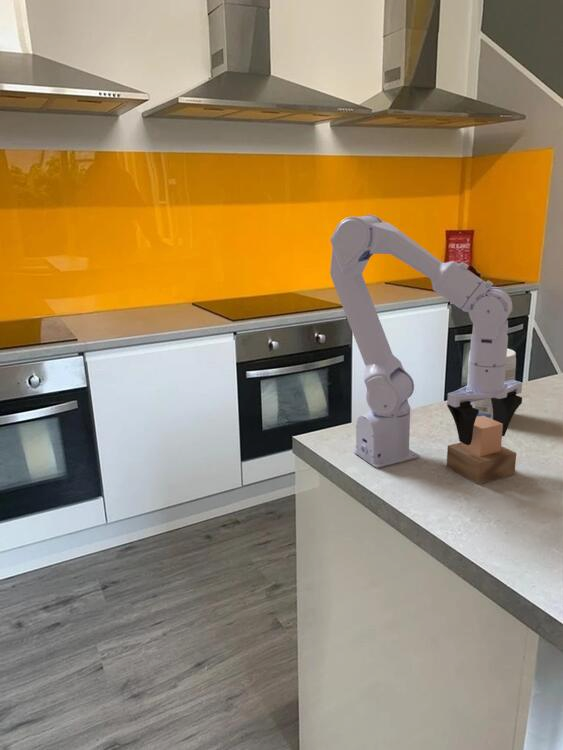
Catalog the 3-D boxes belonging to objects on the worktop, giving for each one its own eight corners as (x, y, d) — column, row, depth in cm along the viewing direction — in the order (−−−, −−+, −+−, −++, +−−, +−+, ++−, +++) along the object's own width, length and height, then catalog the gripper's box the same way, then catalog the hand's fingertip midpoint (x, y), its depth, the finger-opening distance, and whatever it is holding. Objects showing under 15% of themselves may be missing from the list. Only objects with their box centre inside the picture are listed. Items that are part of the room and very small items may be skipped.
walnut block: (478, 484, 97) (480, 462, 96) (446, 466, 104) (447, 445, 103) (514, 474, 100) (516, 452, 99) (481, 457, 107) (482, 437, 106)
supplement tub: (501, 408, 132) (506, 345, 127) (519, 423, 122) (525, 355, 118) (458, 410, 131) (462, 347, 127) (474, 426, 122) (478, 358, 118)
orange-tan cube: (480, 456, 98) (482, 428, 97) (461, 446, 102) (462, 420, 101) (500, 451, 100) (502, 423, 99) (481, 441, 104) (483, 415, 103)
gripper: (470, 375, 90) (465, 455, 94) (539, 361, 96) (531, 438, 100) (440, 364, 96) (436, 440, 100) (506, 352, 102) (500, 425, 106)
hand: (482, 438), depth 101 cm, fingers open, 7 cm apart
